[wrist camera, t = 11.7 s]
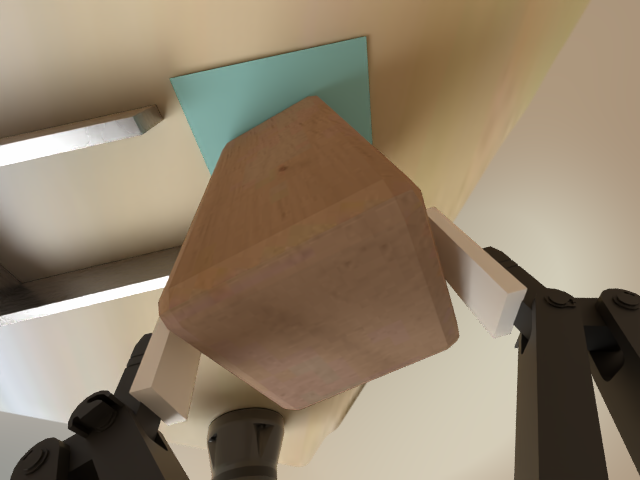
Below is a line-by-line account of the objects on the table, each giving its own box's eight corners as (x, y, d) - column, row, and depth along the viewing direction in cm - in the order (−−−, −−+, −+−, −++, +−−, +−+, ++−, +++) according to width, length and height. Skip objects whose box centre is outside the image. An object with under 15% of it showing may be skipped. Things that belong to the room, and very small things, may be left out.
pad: (375, 220, 33) (376, 222, 33) (245, 251, 32) (244, 253, 32) (364, 36, 22) (366, 36, 22) (170, 78, 22) (169, 78, 22)
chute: (223, 245, 31) (217, 274, 27) (19, 293, 31) (-18, 330, 27) (155, 104, 23) (132, 116, 19) (-132, 167, 22) (-222, 194, 18)
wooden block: (316, 88, 24) (429, 175, 7) (357, 183, 29) (471, 349, 13) (219, 145, 25) (133, 324, 9) (276, 225, 31) (289, 423, 14)
